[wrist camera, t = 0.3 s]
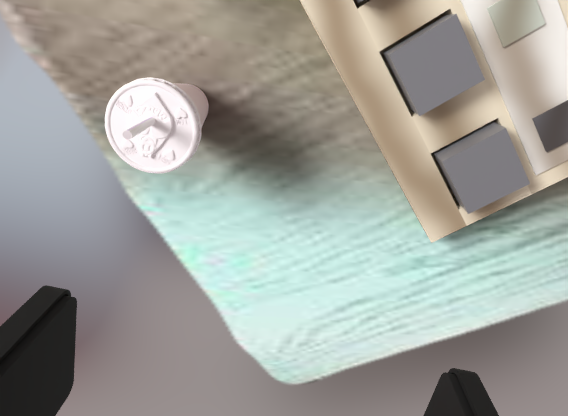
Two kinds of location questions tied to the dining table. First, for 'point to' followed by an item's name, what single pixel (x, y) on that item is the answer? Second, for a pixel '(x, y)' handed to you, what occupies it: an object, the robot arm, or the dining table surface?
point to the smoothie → (156, 123)
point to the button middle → (434, 64)
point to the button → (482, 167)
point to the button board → (467, 105)
